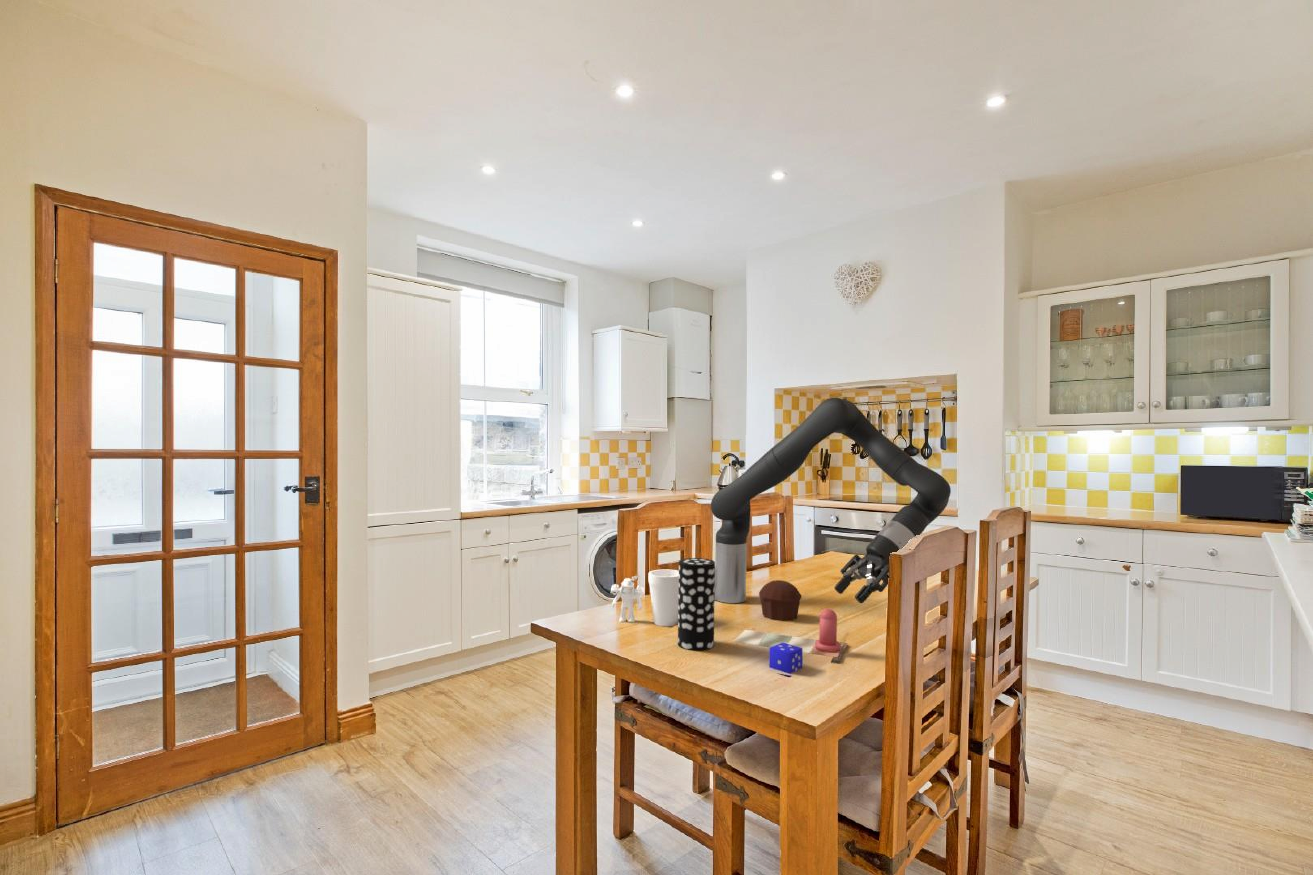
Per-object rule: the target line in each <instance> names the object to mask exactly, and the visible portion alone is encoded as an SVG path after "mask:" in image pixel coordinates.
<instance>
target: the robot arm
mask: <svg viewBox="0 0 1313 875" xmlns="http://www.w3.org/2000/svg"><path fill="white" fill-rule="evenodd" d="M834 433H836V434H842V435H843V436H845V437H847V438H849V439H850V440H852V441H853V442H854V443H856V444H857V445H859V446H860V447H861V448H862V449H863V450H864V451H865V453H867V455H868V456H869V457H870V458H871V460H872V461H873V462H874V464H875V465H876V466H877V467H878V468H879V469H881V471H883V472H884V473H885V474H886V475H887V476H888V477H890V478H891V479H892V480H893V481H894V482H895V483H897V484H898V485H900V486H901V487H902V486H903V487H906V486H908V487H910V488H912V490H914V491H916V496H915V497H914V498H913V499H912V501H911V502H910V503H909V504H908V505H905V506H903V507H901V508H900V509H899V511H897V512H896V514H895V515H894V516H893V517H892V518H891V520H890V521H889V522H887V523H886V525H884V526H883V527H882V529H881V530H879V532H878V533H877V534H876V535H875V537H874V538H873V539H872V540H871V542H869V543H868V545H867V546H866V547H865V550H866V554H865V556H863V557H860V555H859V554H858V553H857V554H854V555H853V556H852V557H851V558H850V560H849V561H848V562H847V563H846V564H845V565H844V566H843V567H842V568H841V569H840V573H841V574H842V577H841V578H840V579H839V581H838V582H837V583H836V584H835V586H834V590H835V591H836V592H837V594H840V595H843V593H844V592H845V590H847V589H848V587H849V586H850V585H851V583H853V582H854V581H856V580H858V581H859V580H862V579H866V582H865V584H866V585H865V584H863V586H862V587H861V588H860V589H859V590H858V592H857V593H856V594H855V595H854V599H855V600H856V601H857V602H858V603H859V604H863V603H864V602H865V601H867V600H868V598H869V597H870V596H871V595H872V593H875V592H877V591H878V592H880V593H882V592H884V590H885V589H886V588H887V586H888V585H889V584H888V578H889V556H890V553H892V552H897V551H898V550H899V549H901V548H903V547H904V546H905V545H906V544H907V543H908V541H909V540H910V539H912V538H913V537H915V536H916V535H920V534H921V535H922V533H923V532H925V529H926V528H927V527H928V526H929V525H930V524H931V523H932V522H933V521H934V520H936V519H938V517H939V516H940V515H941V514H942V513H943V512H944V510H946V507H947V506H948V503H949V501H950V497H951V493H952V489H951V486H950V484H949V482H948V481H947V479H946V478H944V477H943V476H942V475H941V474H940V473H938V472H936V471H934V469H931V468H929V467H927V466H925V465H923V464H920V463H919V462H918V461H916V460H915V459H914V458H913V457H911V456H910V455H909V454H908V453H907V452H906V451H905V450H903V449H902V448H901V447H900V446H898V445H897V444H895V443H894V441H892V440H890V439H889V438H888V437H887V436H885V435H884V434H883V433H882V432H881V431H880V430H878V428H877V427H875V426H874V424H872V422H870V420H869V419H868V418H867V416H865V415H864V413H863V412H862V411H861V409H859V408H858V407H857V405H856V404H854V402H852V401H850V400H847V399H845V398H842V397H836V396H835V397H829V398H827V399H825V400H823V401H822V402H821V403H820V404H819V405H817V407H816V408H815V409H814V410H813V411H812V412H811V413H810V414H809V415H808V416H807V417H806V418H805V419H804V421H802V422H801V423H800V424H799V425H798V426H797V427H796V428H795V429H793V430H792V431H791V432H790V433H789V434H787V435H786V436H785V437H783V439H781V440H780V441H778V442H777V443H776V444H775V445H774V446H773V447H771V448H770V449H769V450H768V451H766V452H765V453H764V454H763V455H762V456H761V457H760V458H759V459H758V460H757V461H755V462H754V463H753V464H752V465H751V466H750V467H749V468H748V469H746V470H745V471H744V473H742V474H741V475H739V477H738V478H736V479H734V480H733V481H732V482H730V483H729V484H727V485H725V486H724V487H722V488H721V489H719V490H718V491H717V492H715V494H714V496H712V499H711V501H710V511H711V513H712V515H713V516H714V517H715V518H717V519H719V520H721V521H722V523H721V526H720V527H719V529H718V530H717V531H716V534H715V597H714V601H718V602H719V603H724V604H738V603H744V602H746V600H747V552H748V551H747V547H748V546H747V540H748V539H747V538H748V536H749V532H750V526H751V500H752V499H753V498H755V497H757V496H759V495H760V494H762V493H764V492H765V491H768V490H770V489H772V488H774V487H776V486H777V485H779V484H781V483H783V482H784V481H785V480H787V479H789V477H790V476H792V475H793V474H794V473H796V472H797V471H798V470H799V469H800V468H801V467H802V466H803V464H804V463H805V461H806V460H807V458H808V456H809V455H810V453H811V452H812V450H813V449H814V448H815V447H816V446H818V444H820V443H821V442H822V441H824V440H825V439H826V438H828V437H830V436H831V435H832V434H834ZM921 535H920V536H921ZM881 581H882V582H881Z"/></svg>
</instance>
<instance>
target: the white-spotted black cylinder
mask: <svg viewBox="0 0 1313 875" xmlns="http://www.w3.org/2000/svg"><path fill="white" fill-rule="evenodd" d="M678 571H679V591H678V624H677V646H678V648H681V649H683V650H686V651H690V652H691V651H693V652H702V651H703V652H704V651H708V650H711V649H713V648H714V646H715V600H714V597H715V561H714V560H712V559H709V558H701V557H689V558H682V559H680V560H678Z"/></svg>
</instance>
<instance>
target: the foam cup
mask: <svg viewBox="0 0 1313 875" xmlns="http://www.w3.org/2000/svg"><path fill="white" fill-rule="evenodd" d="M647 575H648V576H647V577H648V584H649V592H650V594H649V595H650V600H651V610H652V617H653V619H652V620H653V624H654V625H656V626H660V627H673V626H677V625H678V591H679V569H678V570H677V569H668V568H667V569H664V568H663V569H655V570H650V571H649V572H648V574H647Z"/></svg>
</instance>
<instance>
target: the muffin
mask: <svg viewBox="0 0 1313 875" xmlns="http://www.w3.org/2000/svg"><path fill="white" fill-rule="evenodd" d="M758 595H759V598H760V606H761V612H762V615H763V617H764V618H765V619H769V620H772V621H780V622H783V621H784V622H785V621H793V620H797V619H798V614H799V608H800V603H801V599H802V594H801V593H800V591H799V589H798V588H797V587H796V586H795V585H794V584H793V583H791V582H789V581H786V580H780V579H778V580H771V581H769V582H767V583H765V584H764V585H763V586H762V588H760V590H759V591H758Z"/></svg>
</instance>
